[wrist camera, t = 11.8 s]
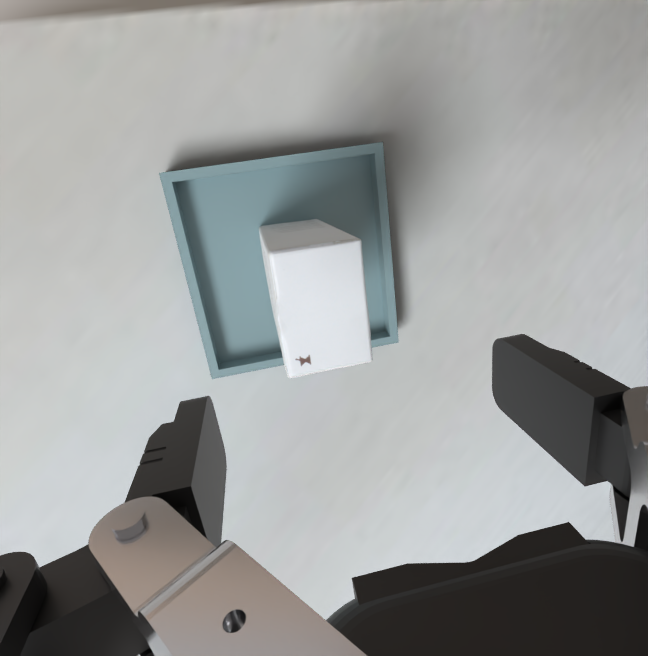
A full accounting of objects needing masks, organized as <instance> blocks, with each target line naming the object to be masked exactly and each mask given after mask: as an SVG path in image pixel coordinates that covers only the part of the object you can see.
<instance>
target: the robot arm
mask: <svg viewBox="0 0 648 656" xmlns="http://www.w3.org/2000/svg"><path fill="white" fill-rule="evenodd" d="M492 391H493V396H494V399H495V401H496V404H497V405H498V407H499V408H500V409H501V410H502V411H503V412H504V413H505V414H506V415H507V416H508V417H509V418H510V419H512V420H513V421H514V422H515V423H516V424H517V425H518V426H519V427H520V428H521V429H522V430H524V431H525V432H526V433H527V434H528V435H529V436H530V437H531V438H532V439H533V440H535V441H536V442H537V443H538V444H539V445H540V446H541V447H542V448H543V449H544V450H546V451H547V452H548V453H549V454H550V455H551V456H552V457H553V458H554V459H555V460H556V461H558V462H559V463H560V464H561V465H562V466H563V467H564V468H565V469H566V470H567V471H569V472H570V473H571V474H572V475H573V476H574V477H575V478H576V479H577V480H578V481H580V482H581V483H582V484H583V485H584V486H588V485H592V484H596V483H600V482H604V481H608V482H610V483H611V488H610V505H611V513H612V521H613V528H614V536H615V542H609V541H600V540H585V539H584V538H583V537H582V535H581V534H580V533H579V532H578V531H577V530H576V529H575V528H574V527H573V526H572V525H571V524H570V523H569V522H568V523H564V524H560V525H556V526H552V527H548V528H544V529H540V530H536V531H533V532H529V533H525V534H521V535H518V536H516V537H514V538H513V539H511V540H509V541H507V542H506V543H504V544H502V545H501V546H499V547H497V548H495V549H494V550H492V551H490V552H489V553H487V554H485V555H484V556H482V557H480V558H478V559H477V560H475V561H472V562H466V563H415V564H404V565H400V566H397V567H393V568H389V569H385V570H381V571H377V572H373V573H369V574H365V575H362V576H358V577H354V578H352V582H353V588H354V595H355V599H353V600H352V601H350V602H348V603H347V604H345V605H344V606H342V607H341V608H340V609H338V610H337V611H336V612H334V613H333V614H332V615H331V616H330V617H329V618H328V619H327V620H325V619H323V618H322V617H321V616H320V615H319V614H317V613H316V612H315V611H314V610H313V609H312V608H310V607H309V606H308V605H307V604H306V603H305V602H303V601H302V600H301V599H300V598H299V597H297V596H296V595H295V594H294V593H293V592H292V591H290V590H289V589H288V588H287V587H286V586H285V585H283V584H282V583H281V582H280V581H279V580H277V579H276V578H275V577H274V576H273V575H272V574H270V573H269V572H268V571H267V570H266V569H265V568H263V567H262V566H261V565H260V564H259V563H258V562H256V561H255V560H254V559H253V558H252V557H250V556H249V555H248V554H247V553H246V552H245V551H243V550H242V549H241V548H240V547H239V546H237V545H236V544H235V543H233V542H232V541H229V540H225V541H224V542H222V543H221V535H222V522H223V509H224V495H225V482H226V455H225V449H224V444H223V441H222V437H221V433H220V429H219V425H218V422H217V418H216V414H215V410H214V406H213V403H212V400H211V398H210V396H206V397H201V398H196V399H191V400H186V401H181V402H180V404H179V407H178V410H177V413H176V417H175V420H174V422H171V423H166V424H162V425H161V426H160V427H159V428H158V429H157V430H156V431H155V432H154V433H153V434H152V435H151V436H150V438H149V440H148V443H147V445H146V448H145V450H144V453H145V454H143V456H142V458H141V461H140V466H138V469H137V471H136V474H135V477H134V479H133V482H132V485H131V487H130V490H129V492H128V495H127V498H126V500H125V503H123V504H121V505H120V506H118V507H116V508H114V509H113V510H111V511H110V512H109V513H107V514H106V515H105V516H104V517H103V518H102V519H101V520H100V521H99V522H98V523H97V524H96V526H95V527H94V529H93V530H92V532H91V534H90V537H89V542H88V543H89V544H88V545H86V546H85V547H83V548H81V549H79V550H77V551H75V552H72V553H70V554H68V555H66V556H64V557H62V558H59V559H57V560H55V561H53V562H51V563H48V564H46V565H44V566H42V567H40V568H39V566H38V564H37V562H36V560H35V559H34V557H33V556H32V555H31V554H29V553H26V552H13V553H8V554H4V555H1V556H0V656H648V386H643V387H635V388H632V389H631V388H629V387H627V386H625V385H624V384H622V383H620V382H618V381H616V380H614V379H613V378H611V377H609V376H607V375H605V374H603V373H602V372H600V371H598V370H596V369H592V367H591V366H589V365H587V364H585V363H583V362H580V361H579V360H578V359H576V358H574V357H572V356H571V355H569V354H567V353H565V352H562V351H559V350H555V349H552V348H548V347H546V346H545V345H543V344H541V343H539V342H538V341H536V340H534V339H532V338H530V337H529V336H527V335H525V334H520V335H515V336H510V337H505V338H500V339H496V340H495V342H494V344H493V355H492Z"/></svg>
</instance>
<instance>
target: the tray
mask: <svg viewBox="0 0 648 656" xmlns="http://www.w3.org/2000/svg"><path fill="white" fill-rule="evenodd" d="M159 175H160V179H161V182H162V186H163V190H164V194H165V198H166V202H167V206H168V210H169V214H170V217H171V221H172V225H173V229H174V233H175V237H176V241H177V245H178V249H179V252H180V256H181V260H182V264H183V268H184V272H185V276H186V280H187V284H188V287H189V291H190V295H191V299H192V303H193V307H194V311H195V315H196V319H197V322H198V326H199V330H200V334H201V338H202V342H203V346H204V350H205V354H206V357H207V361H208V365H209V369H210V373H211V377H212V379H215V378H220V377H225V376H230V375H235V374H240V373H245V372H250V371H256V370H261V369H266V368H271V367H276V366H281V365H284V361H283V356H282V351H281V346H280V342H279V337H278V332H277V328H276V324H275V319H274V315H273V311H272V305H271V300H270V295H269V289H268V284H267V278H266V273H265V267H264V261H263V255H262V249H261V242H260V235H259V227H260V226H264V225H272V224H279V223H288V222H296V221H304V220H311V219H318V220H320V221H323V222H325V223H327V224H329V225H331V226H333V227H335V228H337V229H340V230H342V231H344V232H346V233H348V234H350V235H353V236H355V237H357V238H359V239H361V242H362V254H363V264H364V275H365V285H366V295H367V304H368V312H369V321H370V333H371V346H372V348H373V347H378V346H383V345H388V344H393V343H398V329H397V316H396V303H395V291H394V278H393V265H392V252H391V239H390V226H389V213H388V201H387V188H386V175H385V162H384V149H383V142H379V143H372V144H364V145H357V146H350V147H343V148H336V149H329V150H321V151H314V152H307V153H300V154H293V155H285V156H278V157H271V158H264V159H257V160H249V161H242V162H235V163H228V164H221V165H213V166H206V167H199V168H192V169H185V170H177V171H170V172H163V173H159Z"/></svg>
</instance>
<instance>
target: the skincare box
mask: <svg viewBox="0 0 648 656" xmlns="http://www.w3.org/2000/svg"><path fill="white" fill-rule="evenodd" d="M259 235H260V242H261V249H262V255H263V261H264V267H265V273H266V278H267V284H268V289H269V295H270V300H271V305H272V311H273V315H274V319H275V324H276V328H277V332H278V337H279V342H280V346H281V351H282V356H283V361H284V365H285V369H286V373H287V376H288V377H289V378H295V377H299V376H304V375H309V374H313V373H318V372H323V371H328V370H332V369H338V368H343V367H348V366H354V365H358V364H363V363H368V362H371V361H372V360H373V358H372V346H371V333H370V321H369V312H368V304H367V295H366V285H365V275H364V264H363V254H362V242H361V239H359V238H357V237H355V236H353V235H350V234H348V233H346V232H344V231H342V230H340V229H337V228H335V227H333V226H331V225H329V224H327V223H325V222H323V221H320V220H318V219H311V220H304V221H296V222H288V223H279V224H272V225H264V226H260V227H259Z"/></svg>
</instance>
